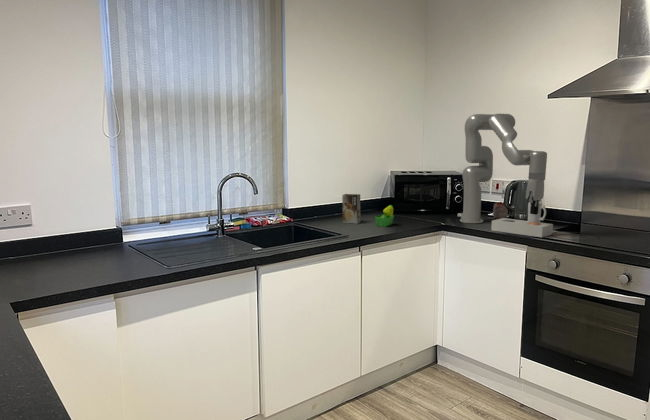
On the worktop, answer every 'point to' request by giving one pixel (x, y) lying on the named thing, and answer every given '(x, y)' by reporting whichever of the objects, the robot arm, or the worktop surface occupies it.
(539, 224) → the terracotta button
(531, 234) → the button panel
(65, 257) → the worktop surface
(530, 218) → the mug
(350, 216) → the coffee box
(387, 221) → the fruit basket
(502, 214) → the food item
